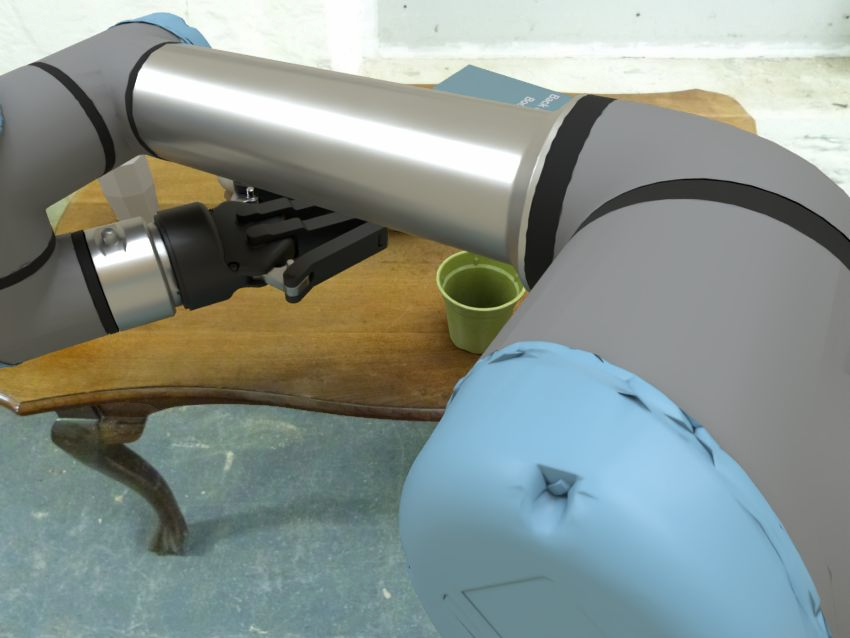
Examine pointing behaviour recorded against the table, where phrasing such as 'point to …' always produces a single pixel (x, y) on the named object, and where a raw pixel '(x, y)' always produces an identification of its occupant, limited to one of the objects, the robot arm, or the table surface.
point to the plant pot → (477, 298)
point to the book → (501, 89)
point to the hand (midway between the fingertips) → (448, 186)
